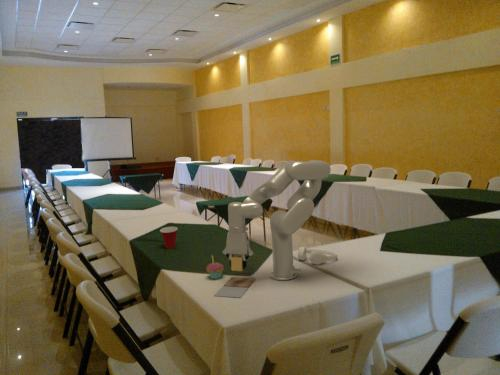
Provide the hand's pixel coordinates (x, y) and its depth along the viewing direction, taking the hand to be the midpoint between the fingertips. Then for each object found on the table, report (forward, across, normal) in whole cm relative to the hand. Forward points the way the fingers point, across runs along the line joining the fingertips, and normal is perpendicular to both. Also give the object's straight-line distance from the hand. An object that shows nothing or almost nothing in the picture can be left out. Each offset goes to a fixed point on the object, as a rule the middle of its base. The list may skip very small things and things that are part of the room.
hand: (238, 267), depth 193 cm
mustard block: (+1, 0, 0) cm, 1 cm away
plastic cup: (+8, +62, -50) cm, 80 cm away
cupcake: (+8, +14, -5) cm, 16 cm away
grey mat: (+7, 0, +12) cm, 14 cm away
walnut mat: (+7, 0, 0) cm, 7 cm away
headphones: (+7, -31, -40) cm, 51 cm away
